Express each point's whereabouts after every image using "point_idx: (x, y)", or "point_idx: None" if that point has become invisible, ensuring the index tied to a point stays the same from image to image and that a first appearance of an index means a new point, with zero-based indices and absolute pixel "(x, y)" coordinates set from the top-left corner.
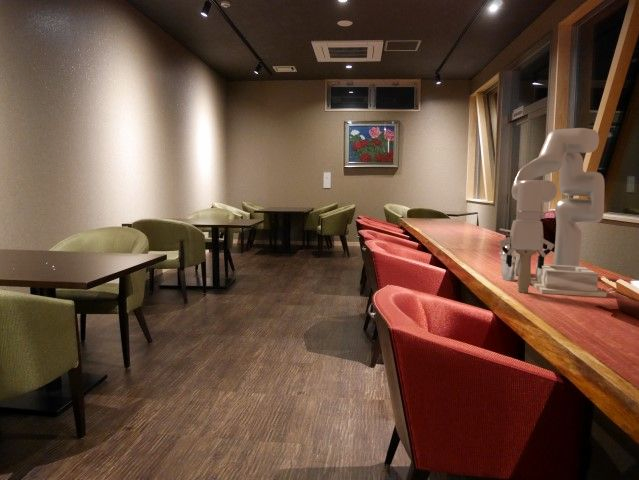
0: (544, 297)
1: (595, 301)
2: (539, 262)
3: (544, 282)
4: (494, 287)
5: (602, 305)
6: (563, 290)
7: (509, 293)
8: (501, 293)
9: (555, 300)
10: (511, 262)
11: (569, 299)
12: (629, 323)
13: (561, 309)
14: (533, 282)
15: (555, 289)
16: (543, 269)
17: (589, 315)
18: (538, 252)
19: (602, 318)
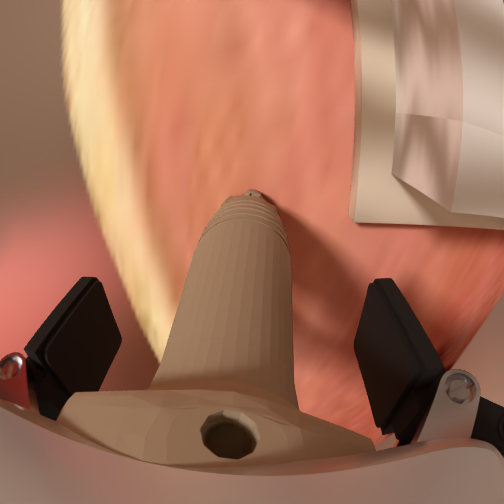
0: (326, 300)
1: (471, 303)
2: (369, 374)
3: (407, 129)
4: (108, 134)
5: (452, 343)
6: (450, 213)
7: (176, 262)
8: (143, 272)
9: (348, 334)
10: (108, 366)
11: (411, 303)
12: (389, 433)
13: (312, 409)
14: (358, 2)
15: (426, 196)
16: (457, 76)
17: (351, 424)
18: (417, 434)
19: (364, 429)
